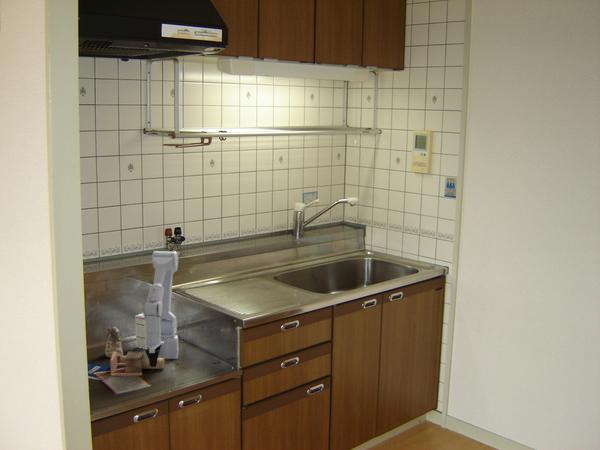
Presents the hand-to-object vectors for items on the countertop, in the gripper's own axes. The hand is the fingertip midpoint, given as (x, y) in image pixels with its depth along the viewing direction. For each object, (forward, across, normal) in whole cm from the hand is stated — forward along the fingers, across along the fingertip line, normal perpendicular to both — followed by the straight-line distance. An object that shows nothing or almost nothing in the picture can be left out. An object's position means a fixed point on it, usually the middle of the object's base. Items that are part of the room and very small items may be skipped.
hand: (153, 364), depth 278 cm
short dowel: (+2, +8, +10) cm, 13 cm away
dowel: (+1, 0, +2) cm, 2 cm away
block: (+2, 0, +8) cm, 8 cm away
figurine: (+2, +19, +18) cm, 26 cm away
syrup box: (+2, +28, +6) cm, 29 cm away
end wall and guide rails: (+2, 0, +10) cm, 10 cm away
